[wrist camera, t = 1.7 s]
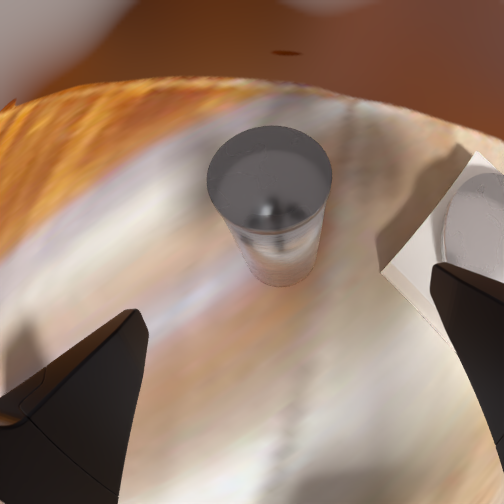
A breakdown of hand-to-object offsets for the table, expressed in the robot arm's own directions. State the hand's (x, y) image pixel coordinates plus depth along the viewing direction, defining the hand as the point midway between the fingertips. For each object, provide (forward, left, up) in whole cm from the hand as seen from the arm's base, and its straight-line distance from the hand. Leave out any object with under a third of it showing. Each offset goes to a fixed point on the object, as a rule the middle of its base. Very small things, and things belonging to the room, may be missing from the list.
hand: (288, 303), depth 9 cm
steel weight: (+5, -3, -12) cm, 13 cm away
